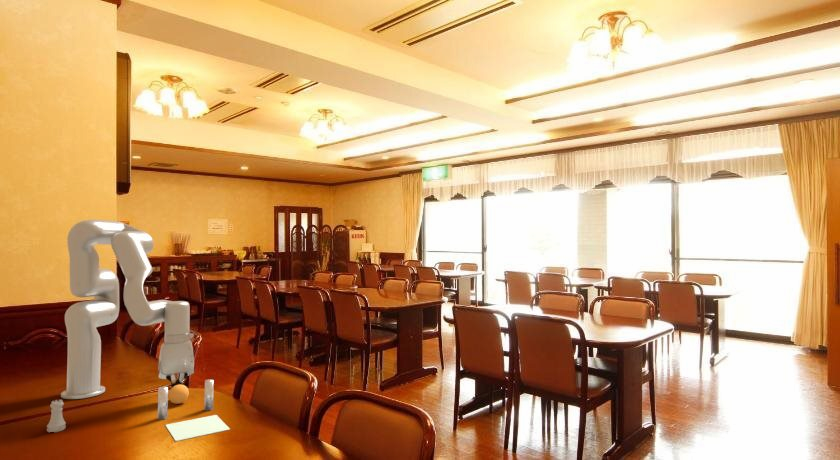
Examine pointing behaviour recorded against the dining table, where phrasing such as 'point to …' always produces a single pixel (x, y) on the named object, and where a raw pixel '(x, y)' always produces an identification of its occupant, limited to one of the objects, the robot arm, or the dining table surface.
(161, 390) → the post
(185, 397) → the ball
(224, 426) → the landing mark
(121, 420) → the dining table surface
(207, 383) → the post
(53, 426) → the rook chess piece
